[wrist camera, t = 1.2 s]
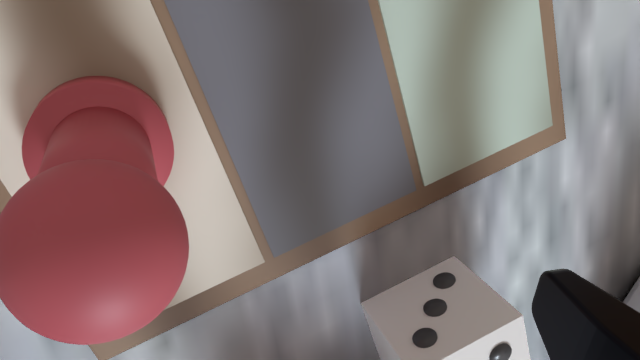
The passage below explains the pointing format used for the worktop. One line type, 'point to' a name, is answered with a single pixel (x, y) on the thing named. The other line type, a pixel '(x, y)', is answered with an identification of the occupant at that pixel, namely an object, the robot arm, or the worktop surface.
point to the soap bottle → (634, 297)
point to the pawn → (93, 216)
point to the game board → (295, 114)
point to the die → (445, 318)
